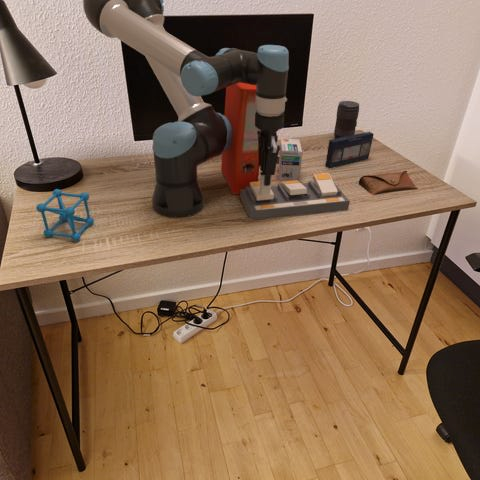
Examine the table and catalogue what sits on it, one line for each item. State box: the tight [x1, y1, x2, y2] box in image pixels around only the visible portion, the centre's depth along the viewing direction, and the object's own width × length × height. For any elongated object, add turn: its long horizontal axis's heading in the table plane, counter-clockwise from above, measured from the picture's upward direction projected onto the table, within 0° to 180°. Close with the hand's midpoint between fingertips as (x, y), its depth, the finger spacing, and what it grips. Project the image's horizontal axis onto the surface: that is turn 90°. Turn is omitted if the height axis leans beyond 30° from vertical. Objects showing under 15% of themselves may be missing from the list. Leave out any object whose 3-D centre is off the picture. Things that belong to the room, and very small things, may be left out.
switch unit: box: [239, 180, 351, 221], centre depth 130 cm, size 30×13×4 cm, turn 104°
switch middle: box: [280, 180, 307, 195], centre depth 129 cm, size 5×8×2 cm, turn 14°
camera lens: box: [333, 100, 360, 139], centre depth 168 cm, size 8×8×15 cm
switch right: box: [312, 172, 338, 197], centre depth 131 cm, size 5×8×2 cm, turn 14°
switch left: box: [250, 180, 274, 201], centre depth 127 cm, size 5×8×2 cm, turn 14°
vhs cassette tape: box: [324, 131, 374, 169], centre depth 153 cm, size 18×3×10 cm, turn 118°
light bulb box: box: [278, 138, 304, 182], centre depth 144 cm, size 11×7×11 cm, turn 179°
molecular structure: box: [36, 188, 95, 242], centre depth 113 cm, size 10×10×10 cm
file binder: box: [220, 83, 260, 195], centre depth 132 cm, size 8×17×32 cm, turn 14°
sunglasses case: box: [358, 170, 418, 196], centre depth 141 cm, size 18×7×7 cm
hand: (264, 193), depth 124 cm, fingers closed
